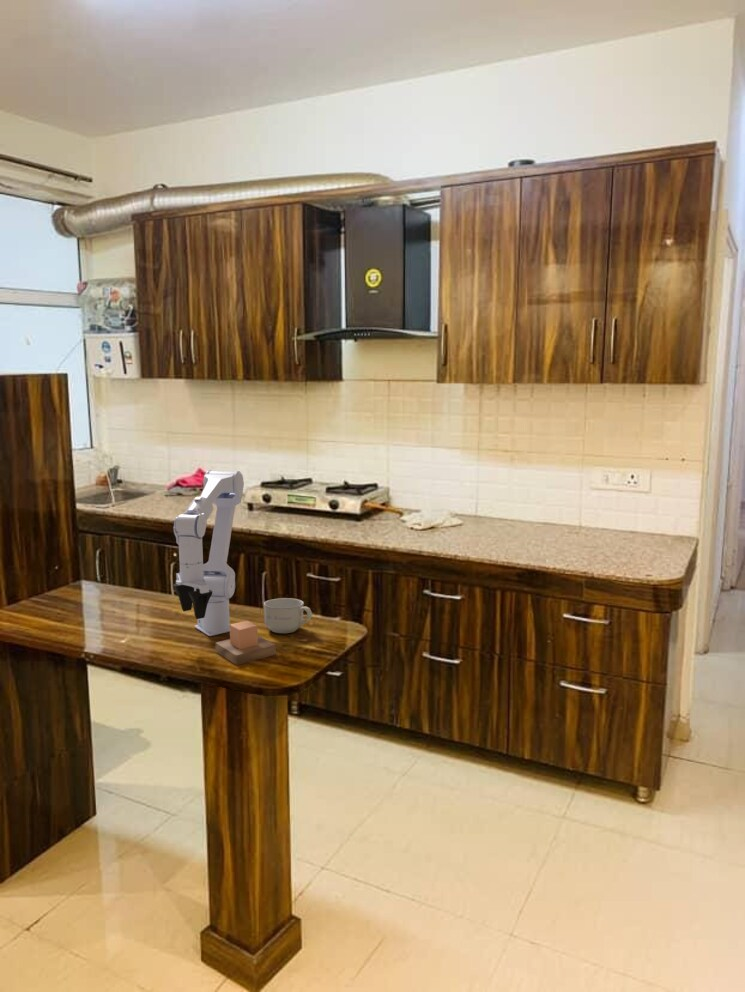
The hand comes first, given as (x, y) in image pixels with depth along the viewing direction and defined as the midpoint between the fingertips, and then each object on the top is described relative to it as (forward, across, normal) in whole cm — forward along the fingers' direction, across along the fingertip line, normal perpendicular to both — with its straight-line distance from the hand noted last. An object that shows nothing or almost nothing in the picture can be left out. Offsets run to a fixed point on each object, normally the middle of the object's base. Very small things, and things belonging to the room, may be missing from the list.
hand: (193, 614), depth 190 cm
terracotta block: (+7, +10, +9) cm, 15 cm away
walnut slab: (+10, +10, +9) cm, 17 cm away
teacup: (+10, +3, +26) cm, 28 cm away
